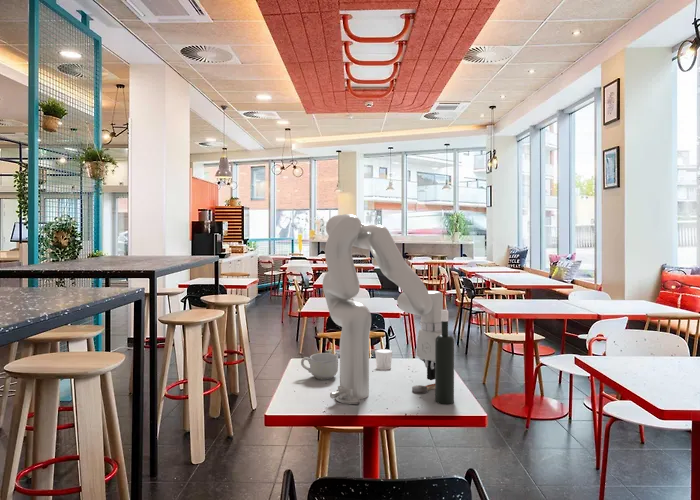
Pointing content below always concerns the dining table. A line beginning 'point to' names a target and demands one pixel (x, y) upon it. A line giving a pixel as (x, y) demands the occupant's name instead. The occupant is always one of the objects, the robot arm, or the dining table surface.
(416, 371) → the dining table surface
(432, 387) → the multicoloured piece
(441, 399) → the wine bottle
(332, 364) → the teacup
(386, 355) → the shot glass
